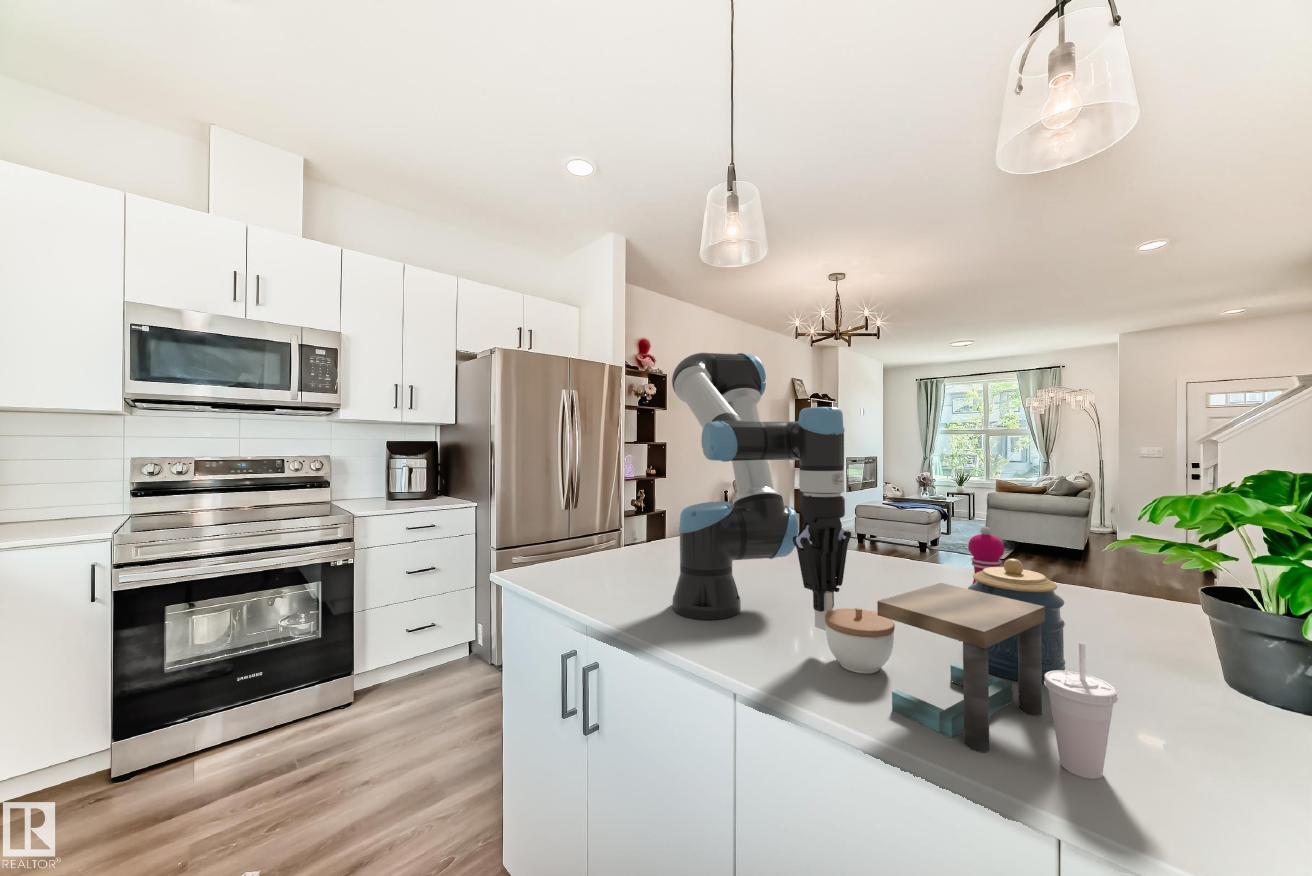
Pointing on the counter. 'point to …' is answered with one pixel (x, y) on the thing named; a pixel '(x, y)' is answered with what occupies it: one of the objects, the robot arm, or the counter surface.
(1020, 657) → the overhang shelf
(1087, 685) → the smoothie
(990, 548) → the pepper mill
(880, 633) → the lidded jar
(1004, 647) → the canister
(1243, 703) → the counter surface
